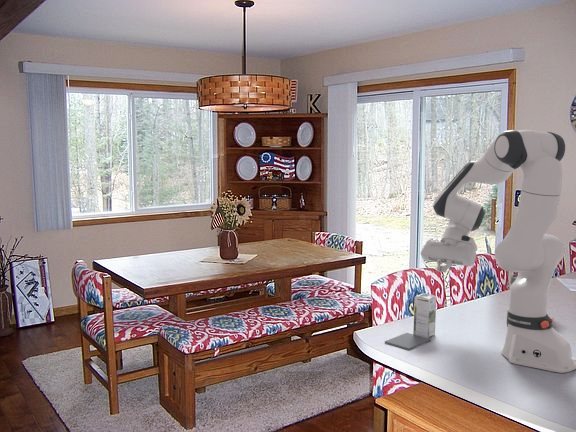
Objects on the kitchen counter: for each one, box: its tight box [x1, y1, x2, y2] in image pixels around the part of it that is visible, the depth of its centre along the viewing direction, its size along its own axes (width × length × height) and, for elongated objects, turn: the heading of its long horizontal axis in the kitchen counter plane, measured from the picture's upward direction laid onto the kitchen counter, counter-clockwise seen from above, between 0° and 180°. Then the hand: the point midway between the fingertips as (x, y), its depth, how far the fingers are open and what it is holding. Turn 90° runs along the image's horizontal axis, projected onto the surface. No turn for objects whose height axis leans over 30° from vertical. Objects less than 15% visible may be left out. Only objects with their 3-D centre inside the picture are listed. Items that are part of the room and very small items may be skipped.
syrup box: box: [412, 292, 437, 339], centre depth 204 cm, size 6×6×14 cm
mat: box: [384, 332, 432, 351], centre depth 198 cm, size 10×13×1 cm
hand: (440, 271), depth 211 cm, fingers closed
